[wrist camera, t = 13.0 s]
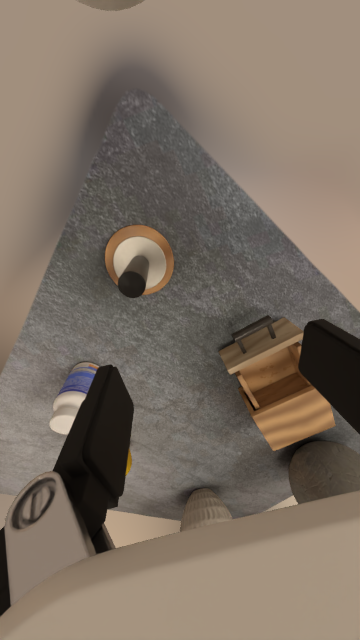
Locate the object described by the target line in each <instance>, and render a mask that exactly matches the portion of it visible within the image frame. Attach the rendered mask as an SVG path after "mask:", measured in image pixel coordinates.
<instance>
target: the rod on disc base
mask: <svg viewBox="0 0 360 640" xmlns="http://www.w3.org/2000/svg"><path fill="white" fill-rule="evenodd" d="M113 266H114V270H115V272H116V274H117V276H118V278H119V279H118V287H119V290H120V291H121V293H122V294H124V295H125V296H127V297H130V298H136V297H139V296H141V295H142V294H143V293H144V291H145V290H146V289H150V288H152V287H154V286H156V285H157V284H158V283H159V282H160V281H161V280H162V278H163V277H164V274H165V271H166V259H165V256H164V253H163V251H162V249H161V248H160V247H159V246H158V244H156V243H155V242H154V241H153V240H151V239H149V238H146V237H142V236H134V237H130V238H127V239H125V240H124V241H122V242H121V243H120V244H119V245H118V247H117V248H116V250H115V253H114V257H113Z"/></svg>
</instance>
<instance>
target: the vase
mask: <svg viewBox="0 0 360 640" xmlns="http://www.w3.org/2000/svg"><path fill="white" fill-rule="evenodd" d="M229 520H233V519H232V516H231V514H230V512H229V511H228V509H227V507H226V506H225V504H224V503H223V501H222V500H221V499H220V498H219V497H218V496H217V495H216V494H215V493H214V492H213V491H212V490H210V489H207V488H202V489H198V490H195V491H194V492H193V493H192V494H191V495H190V497H189V499H188V501H187V503H186V506H185V509H184V512H183V515H182V520H181V527H180V532H182V531H186V530H190V529H195V528H199V527H203V526H207V525H212V524H216V523H220V522H224V521H229Z"/></svg>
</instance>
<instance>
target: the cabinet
mask: <svg viewBox="0 0 360 640" xmlns="http://www.w3.org/2000/svg"><path fill="white" fill-rule="evenodd" d="M238 390H239V392H240V394H241V396H242V398H243V400H244V402H245V404H246V406H247V408H248V410H249V412H250V414H251V416H252V418H253V420H254V421H255V423H256V424H257V426H258V427H259V429H260V431H261V432H262V434H263V435H264V437H265V438H266V440H267V442H268V443H269V445H270V446H271V448H272V449H273V451H275V450H278V449H280V448H283V447H285V446H288V445H290V444H292V443H295V442H297V441H300V440H302V439H305V438H307V437H309V436H312V435H314V434H317V433H319V432H322V431H324V430H327V429H329V428H331V427H334V426H335V422H334V418H333V414H332V410H331V406H330V403H329V402H328V401H327V400H326V399H325V398H324V397H323V396H322V395H321V394H320V393H319V392H318V391H317V390H316V389H315V388H314V387H313V386H312V385H311V386H309V387H307V388H305V389H303V390H300V391H298V392H296V393H294V394H292V395H289V396H287V397H285V398H283V399H280V400H278V401H276V402H274V403H272V404H269V405H267V406H265V407H263V408H261V409H258V410H256V408H255V407H254V405H253V403H252V402H251V400H250V398H249V397H248V395H247V393H246V392H245V390H244V388H243V387H240V388H238Z"/></svg>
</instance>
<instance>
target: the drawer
mask: <svg viewBox="0 0 360 640" xmlns="http://www.w3.org/2000/svg"><path fill="white" fill-rule="evenodd" d="M303 334H304V332H303V331H302V330H301V329H299V328H298V327H297V326H295V325H294V324H293V323H291V322H290V321H289V320H287V319H286V318H282V319H280V320H278V321H276V322H274V323H273V320H272V319H271V317H270V316H269V315H267V316H265V317H263V318H262V319H260V320H258V321H256V322H254V323H252V324H250V325H248V326H246V327H244V328H243V329H241V330H239V331H237V332H235V333H233V334H231V335H232V337H233V339H234V340H235V342H236V343H234V344H232V345H230V346H228V347H226V348H224V349H222V350H220V351H219V354H220V356H221V358H222V360H223V362H224V364H225V366H226V368H227V370H228V372H229V374H230V375H231V374H233V373H235V374H236V376H237V378H238V380H239V381H240V383H241V385H242V387H243V388H244V390H245V392H246V393H247V395H248V397H249V398H250V400H251V402H252V403H253V405H254V407H255V408H256V410H258V409H261V408H263V407H265V406H267V405H269V404H272V403H274V402H276V401H278V400H280V399H283V398H285V397H287V396H289V395H292V394H294V393H296V392H298V391H300V390H303V389H305V388H307V387H309V386H311V384H310V382H309V381H308V380H307V379H306V378H305V377H304V376H303V375H302V374H301V373H300V371H299V369H298V364H299V358H300V352H301V346H302V345H301V344H300V343H299V342H298V341H300V340H302V339H303Z"/></svg>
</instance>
